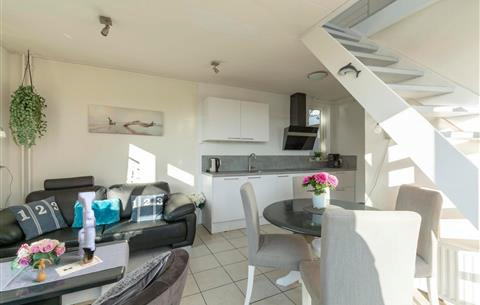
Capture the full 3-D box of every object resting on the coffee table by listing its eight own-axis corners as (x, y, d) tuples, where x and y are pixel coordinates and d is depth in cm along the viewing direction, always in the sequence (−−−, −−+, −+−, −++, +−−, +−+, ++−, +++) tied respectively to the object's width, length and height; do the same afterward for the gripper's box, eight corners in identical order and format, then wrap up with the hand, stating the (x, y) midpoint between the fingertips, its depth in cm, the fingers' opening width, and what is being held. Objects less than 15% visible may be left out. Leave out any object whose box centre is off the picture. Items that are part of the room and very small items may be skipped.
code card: (54, 269, 130) (54, 268, 130) (95, 255, 147) (95, 255, 147) (60, 276, 122) (60, 276, 122) (103, 261, 139) (103, 261, 139)
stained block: (83, 261, 138) (83, 253, 138) (91, 258, 141) (91, 251, 141) (85, 263, 135) (85, 255, 135) (93, 260, 139) (93, 252, 139)
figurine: (31, 285, 114) (32, 263, 114) (30, 281, 118) (31, 259, 118) (51, 278, 120) (52, 257, 120) (50, 274, 124) (51, 254, 124)
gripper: (78, 236, 140) (78, 257, 140) (85, 242, 131) (85, 264, 131) (90, 233, 146) (90, 253, 145) (98, 239, 137) (98, 259, 137)
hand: (89, 258), depth 138 cm, fingers open, 4 cm apart
